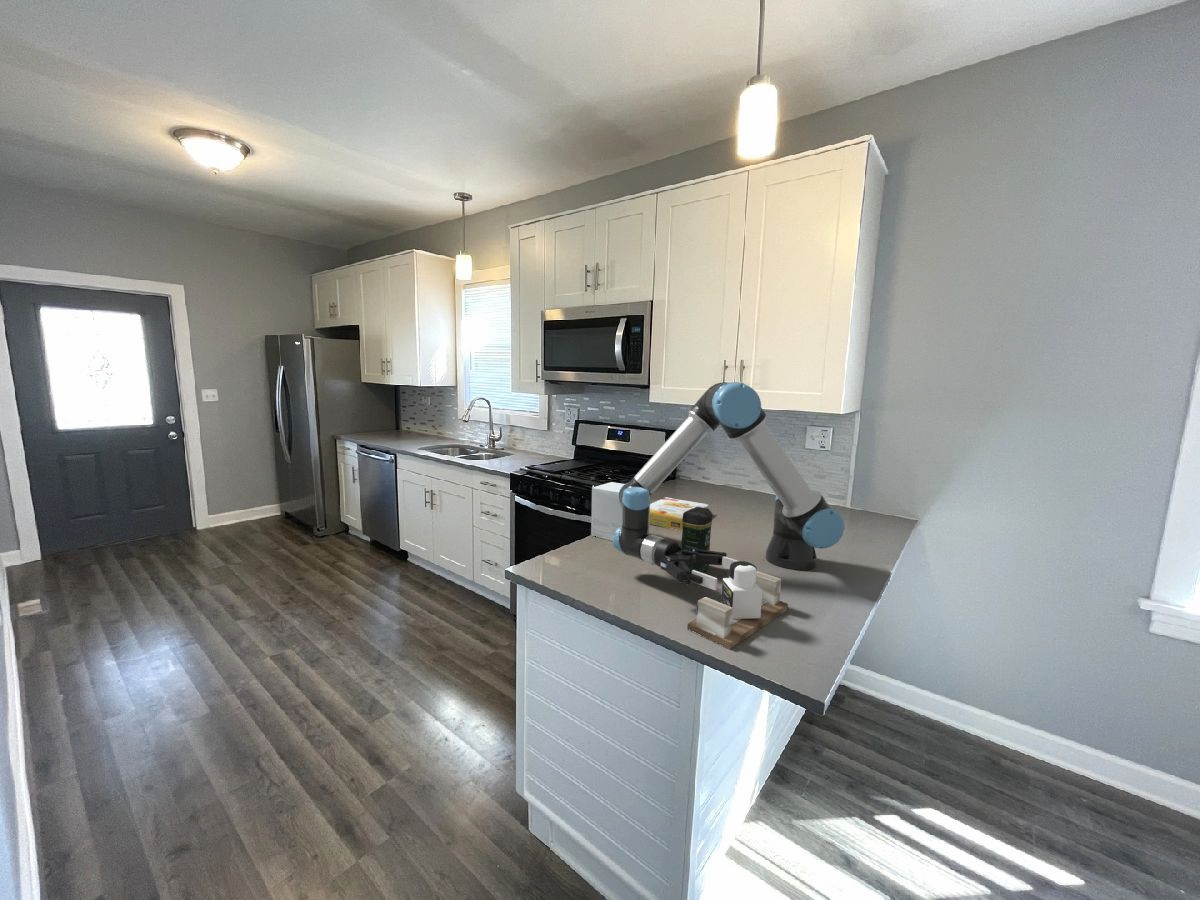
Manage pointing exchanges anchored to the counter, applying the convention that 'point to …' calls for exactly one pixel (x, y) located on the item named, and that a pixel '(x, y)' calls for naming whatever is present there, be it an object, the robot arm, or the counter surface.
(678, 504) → the cereal box
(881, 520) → the counter surface
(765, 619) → the rail board
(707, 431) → the robot arm
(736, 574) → the medicine bottle
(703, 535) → the coffee jar
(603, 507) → the supplement box
